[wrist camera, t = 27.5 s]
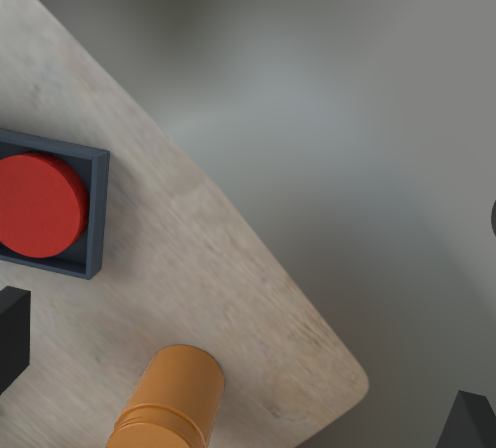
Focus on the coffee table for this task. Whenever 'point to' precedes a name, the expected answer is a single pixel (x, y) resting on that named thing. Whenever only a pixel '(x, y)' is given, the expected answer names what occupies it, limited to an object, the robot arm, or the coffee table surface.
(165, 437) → the jar
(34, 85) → the coffee table surface
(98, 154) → the tray
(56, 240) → the lid
